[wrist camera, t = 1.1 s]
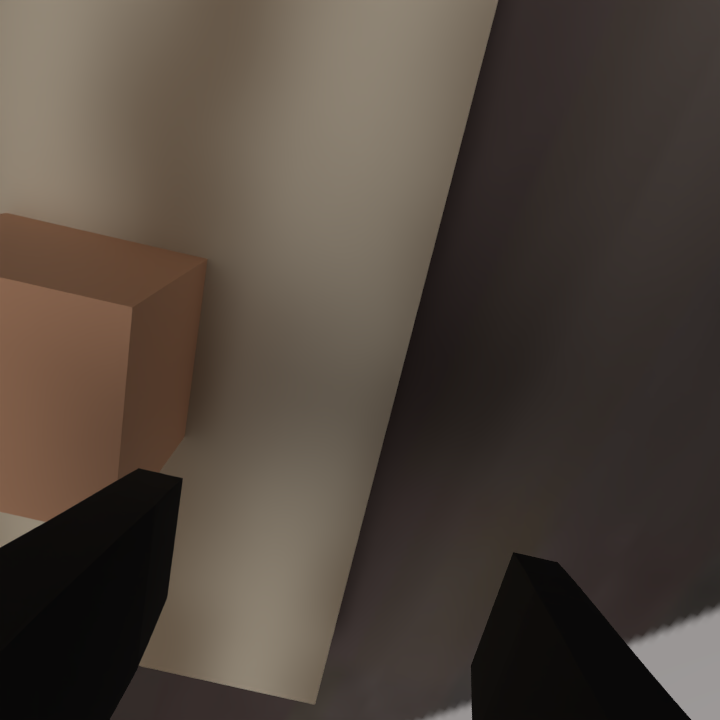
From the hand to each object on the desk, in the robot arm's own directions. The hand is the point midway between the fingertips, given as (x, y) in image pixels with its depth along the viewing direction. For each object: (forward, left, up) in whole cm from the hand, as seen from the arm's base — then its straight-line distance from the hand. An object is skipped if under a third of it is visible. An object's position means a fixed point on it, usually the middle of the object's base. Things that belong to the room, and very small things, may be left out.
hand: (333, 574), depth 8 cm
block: (+6, 0, -6) cm, 9 cm away
